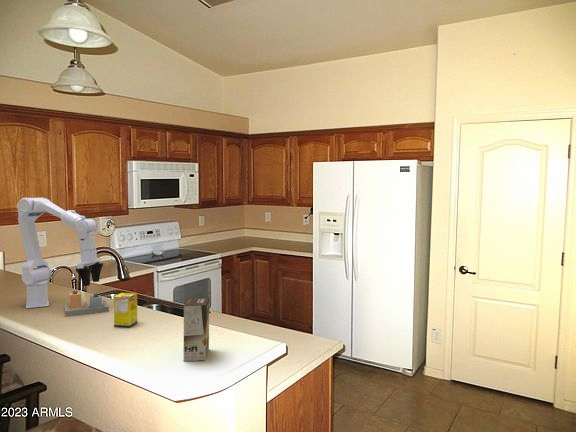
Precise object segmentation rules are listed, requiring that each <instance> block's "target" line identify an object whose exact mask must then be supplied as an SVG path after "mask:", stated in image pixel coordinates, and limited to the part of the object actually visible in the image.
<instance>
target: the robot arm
mask: <svg viewBox="0 0 576 432" xmlns="http://www.w3.org/2000/svg"><path fill="white" fill-rule="evenodd" d="M16 208H17V214H18V216H17V222H18V226H19V231H20V235H21V241H22V245H23V251H24V255H25V259H26V261H25V263H24V264H23V266H21V270H22V271H21V280H22V282H23V283H24V285H25V286H26V303H25V309H33V308H40V307H41V308H42V307H49V303H50V301H49V299H48V283H49V280H51V278H52V270H51V268H50V266H49V263H48V262H47V261H46V260H45V259H43V256H42V251H41V246H40V242H39V237H38V232H37V227H36V223H35V222H36V221H37V219H38V218H39V217H41V216H42V215H43V214H45V213H48V214H50V215H52V216H55V217H57V218H60V220H61V222H62V224H64V225H66V226H68V227H70V228H72V229H73V230H74V231H75V233H76V234H77V238H78V240H79V241H78V242H79V251H80V262H78V263H77V267H76V268H75V272H76V273H77V274H78V277H80V280H81V282H82V285H83V287H88V286H90V285H91V284H90V283H91V280H92V282H93V283H98V282H100V278H101V273H102V269H103V266H104V263H103V262H101V261H102V260H101V257H98V254H97V252H98V251H97V243H96V233H95V232H96V231H97V230H98V223H97V221H96V220H95V219H94V218H86V216H85V215H80V214H79V213H78V212H77V213H76V210H74V209H73V210H72V209H70V210H65V209H63V208H61V207H60V206H58V205H57V204H55V203H54V202H52V201H51V200H50V199H48V198H46V197H44V196H43V197H42V196H41V197H22V198H21V199H19V201H18V202H17V204H16ZM91 278H92V279H91Z"/></svg>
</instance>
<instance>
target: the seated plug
mask: <svg viewBox="0 0 576 432" xmlns="http://www.w3.org/2000/svg"><path fill="white" fill-rule="evenodd" d="M94 307H103V297H102V295H101V294H100V295H99V294H98V293H94V294H93V295H90V296H89V308H94Z"/></svg>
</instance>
